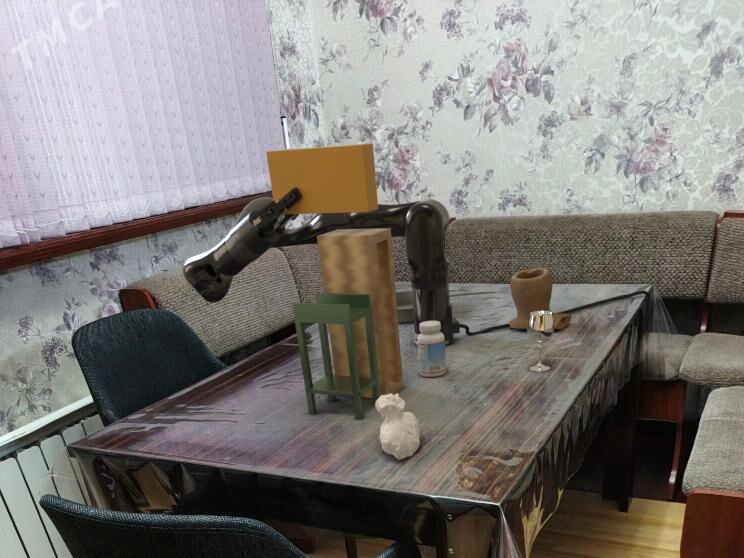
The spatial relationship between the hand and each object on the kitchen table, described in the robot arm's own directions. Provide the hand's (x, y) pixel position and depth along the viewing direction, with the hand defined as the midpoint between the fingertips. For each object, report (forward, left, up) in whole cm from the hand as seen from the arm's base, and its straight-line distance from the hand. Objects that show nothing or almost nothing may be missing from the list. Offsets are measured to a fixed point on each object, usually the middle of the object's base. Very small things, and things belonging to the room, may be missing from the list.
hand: (305, 190), depth 137 cm
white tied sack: (-9, +39, -40) cm, 57 cm away
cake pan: (-27, -59, -40) cm, 76 cm away
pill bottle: (-23, -1, -40) cm, 46 cm away
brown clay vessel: (-56, -26, -40) cm, 74 cm away
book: (-3, +2, -4) cm, 6 cm away
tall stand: (-8, +6, -40) cm, 41 cm away
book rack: (-2, +15, -40) cm, 42 cm away
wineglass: (-46, +5, -40) cm, 61 cm away
